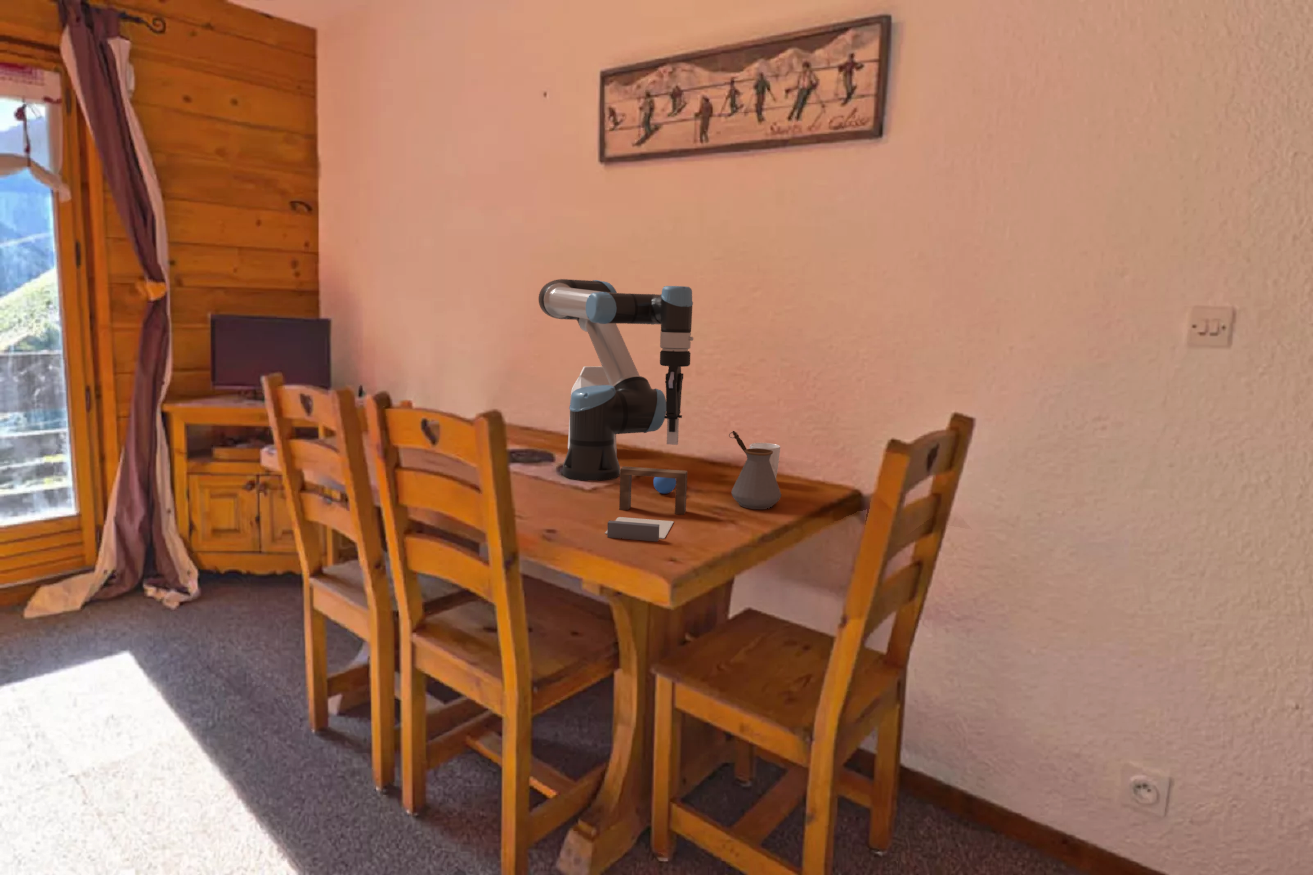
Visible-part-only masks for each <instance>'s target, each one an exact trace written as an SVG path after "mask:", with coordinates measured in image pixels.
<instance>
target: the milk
mask: <svg viewBox="0 0 1313 875" xmlns="http://www.w3.org/2000/svg"><path fill="white" fill-rule="evenodd" d="M595 385H597V386H599V385H610V384H609V381H608V379H607V377H606V374H605V372H604V369H603V367H602V366H582V369H581V371H580V373H579V376H578V377H577V379H576V380H575V382H574V384H573V385H572V388H571V391H570V395H571V394H572V393H573V392H574V391H575V390H577V389H579V388H583V387H587V386H595ZM569 446H570V418H569V420H568V439H567V450H568V449H569ZM614 449H615V452H616V455H618V450H617V434H614Z"/></svg>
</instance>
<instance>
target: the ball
mask: <svg viewBox="0 0 1313 875" xmlns="http://www.w3.org/2000/svg"><path fill="white" fill-rule="evenodd" d="M653 487H654V489H655V490H656V491H657V492H658V493H660V494H663V495H665V494H667V495H668V494H669V493H672V491H674V490H675V489H676V478H663V477H653Z"/></svg>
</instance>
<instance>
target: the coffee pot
mask: <svg viewBox="0 0 1313 875" xmlns="http://www.w3.org/2000/svg"><path fill="white" fill-rule="evenodd" d="M731 434H732V435H733V437H731V436H730V435H731ZM728 437H729V438H730V439H735V440H736V443H737V444H738V446H739V447H740V448H741V449H742V451H743V452H744V453H745V455H746V461H745V463H744V464H743V467H742V468H741V471H740V473H739V475H738V477H737V478H736V481H735V483H734V485H733V487H732V489H731V496H732V498H733V499H734V501H736V502H737V503H738V505H739V506H740V507H742V508H746V509H751V510H768V509H771V508H772V507H773V506H774V505H777V503H778V502H779V501H780V499H781V497H782V493H781V489H780V487H779V484H778V481H777V477H776V478H775V475H774V472H773V470H772V467H771V464H770V461H769V459H770V456H771V454H773V451H772V450H767V449H757V448H753V449H750V448H747V447H746V445H745V442H743V440H742V438H740V435H739V434H738V432H736V431H735V430H732V432H729V434H728ZM770 507H771V508H770ZM767 508H768V509H767Z"/></svg>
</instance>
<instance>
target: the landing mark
mask: <svg viewBox="0 0 1313 875" xmlns="http://www.w3.org/2000/svg"><path fill="white" fill-rule="evenodd" d="M614 521H623V522H635V523H647V524H659V540H660V539H662V540H665V539H666V536H668V533H669V532H670V529H671V528H672V526H673V524H674V522H675V521H672V520H663V519H661V520H659V519H650V518H649V519H648V518H647V519H646V518H639V517H638V518H637V517H636V518H635V517H625V516H624V517H623V516H618V517H617V518H616V519H615V520H614ZM604 534H605V535H607V530H606V531H605V532H604Z"/></svg>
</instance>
